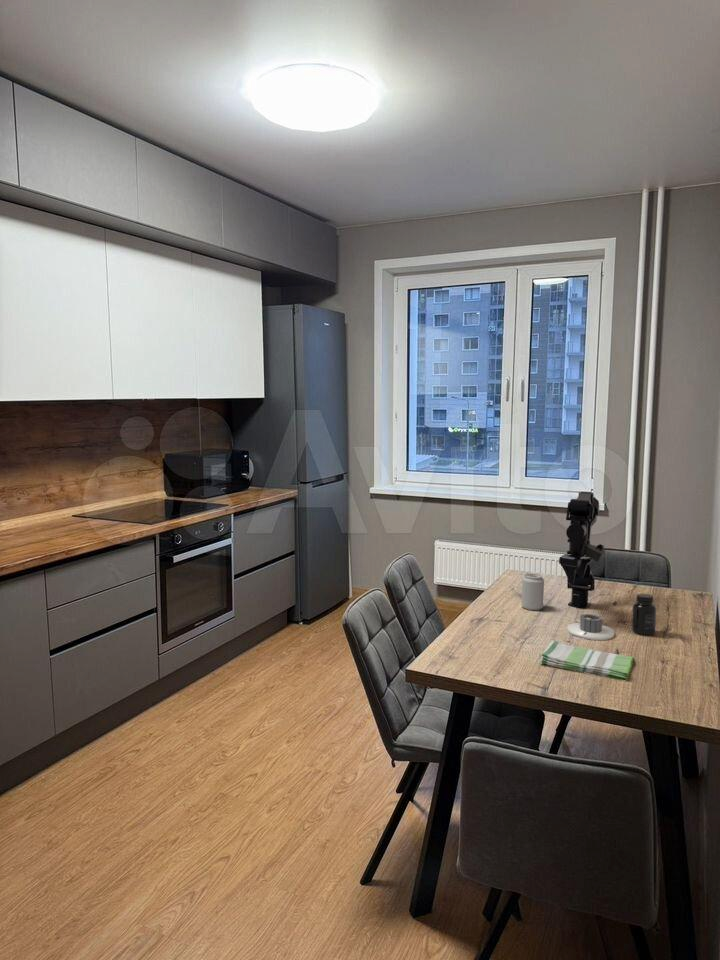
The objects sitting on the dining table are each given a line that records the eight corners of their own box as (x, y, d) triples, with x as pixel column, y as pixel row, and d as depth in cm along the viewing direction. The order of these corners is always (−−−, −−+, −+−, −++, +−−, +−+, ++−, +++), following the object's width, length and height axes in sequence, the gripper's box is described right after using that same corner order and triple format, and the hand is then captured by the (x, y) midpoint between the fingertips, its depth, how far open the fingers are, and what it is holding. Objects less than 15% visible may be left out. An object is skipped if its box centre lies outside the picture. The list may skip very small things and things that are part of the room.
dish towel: (551, 647, 195) (551, 635, 194) (634, 661, 184) (635, 649, 184) (538, 666, 180) (538, 654, 179) (627, 683, 169) (628, 670, 169)
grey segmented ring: (584, 624, 211) (584, 611, 210) (604, 629, 207) (604, 615, 206) (577, 629, 206) (577, 616, 205) (597, 634, 202) (598, 620, 201)
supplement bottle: (655, 630, 209) (657, 594, 207) (654, 637, 203) (657, 599, 201) (632, 627, 212) (634, 591, 210) (631, 634, 205) (633, 597, 204)
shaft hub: (576, 622, 216) (576, 610, 216) (619, 631, 208) (620, 619, 207) (560, 633, 205) (561, 621, 205) (606, 643, 197) (606, 630, 196)
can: (541, 605, 235) (542, 572, 234) (544, 611, 228) (546, 577, 226) (519, 604, 236) (521, 571, 235) (522, 610, 228) (524, 577, 227)
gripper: (593, 543, 208) (591, 591, 210) (611, 535, 223) (609, 579, 224) (559, 539, 215) (557, 585, 217) (579, 531, 230) (577, 574, 231)
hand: (576, 581), depth 222 cm, fingers open, 9 cm apart
